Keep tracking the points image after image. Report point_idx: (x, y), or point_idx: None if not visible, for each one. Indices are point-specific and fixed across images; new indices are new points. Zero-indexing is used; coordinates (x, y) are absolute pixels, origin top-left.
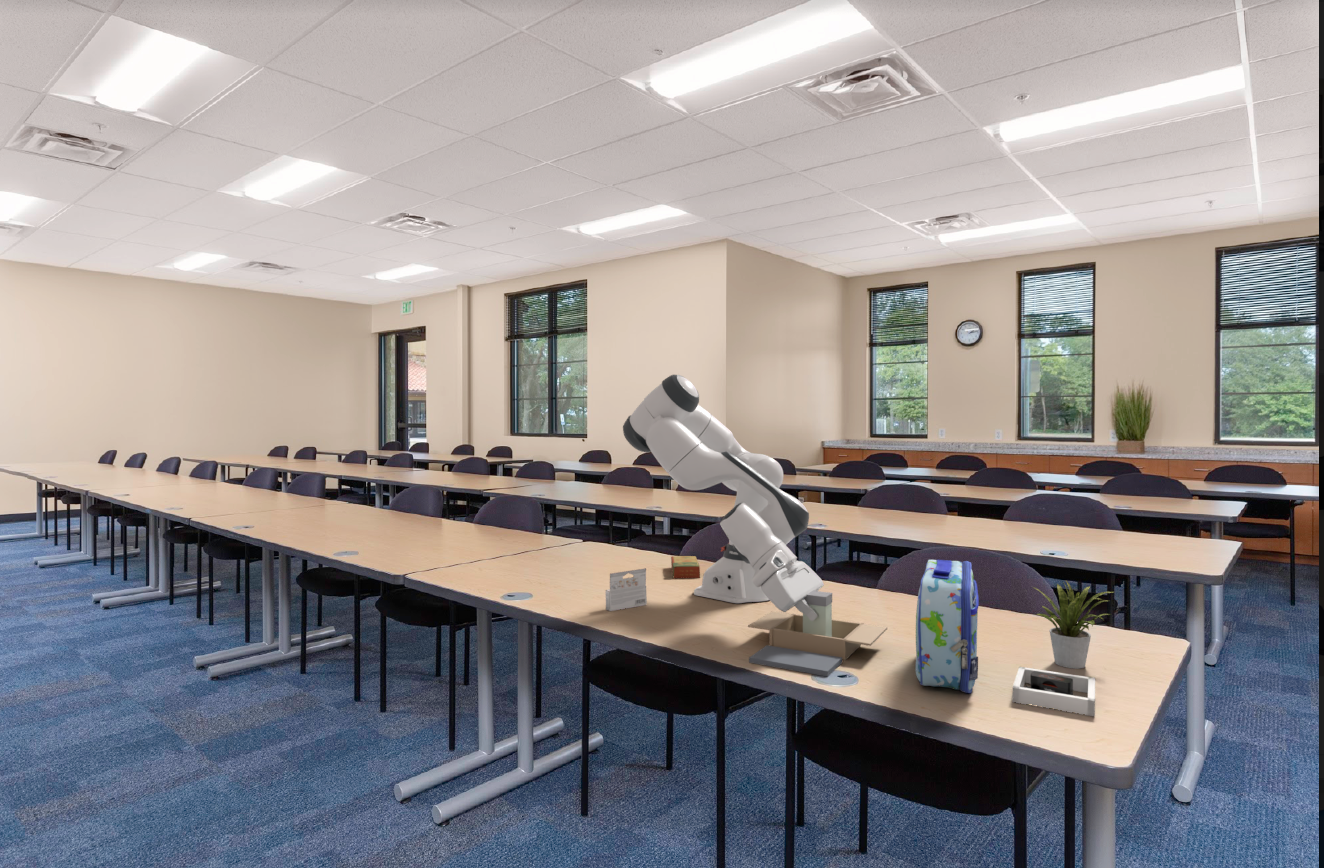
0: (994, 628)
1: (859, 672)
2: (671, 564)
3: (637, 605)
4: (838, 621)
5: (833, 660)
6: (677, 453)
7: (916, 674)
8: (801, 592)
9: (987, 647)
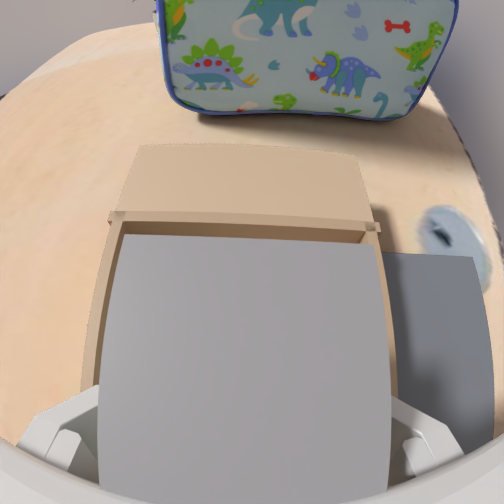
0: (34, 103)
1: (403, 209)
2: None
3: None
4: (101, 316)
5: (416, 266)
6: None
7: (392, 112)
8: (484, 491)
9: (123, 81)
